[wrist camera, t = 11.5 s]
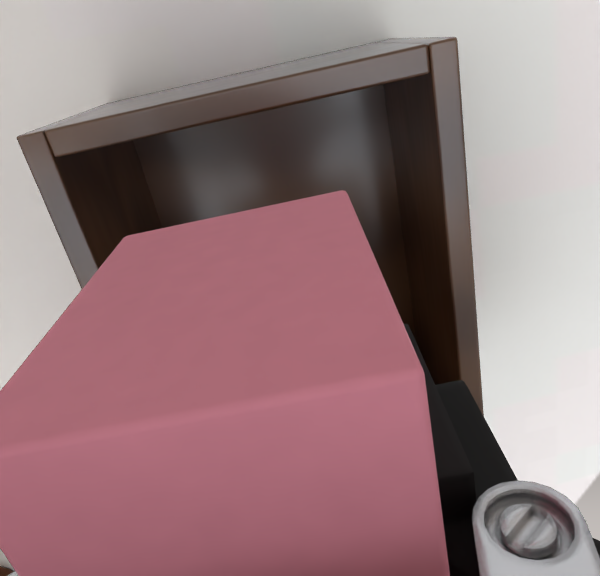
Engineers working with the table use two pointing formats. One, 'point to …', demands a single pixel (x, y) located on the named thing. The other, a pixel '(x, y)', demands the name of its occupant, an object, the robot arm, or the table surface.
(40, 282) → the table surface
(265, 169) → the chest
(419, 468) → the pink rectangular box
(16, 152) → the table surface
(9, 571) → the food container
